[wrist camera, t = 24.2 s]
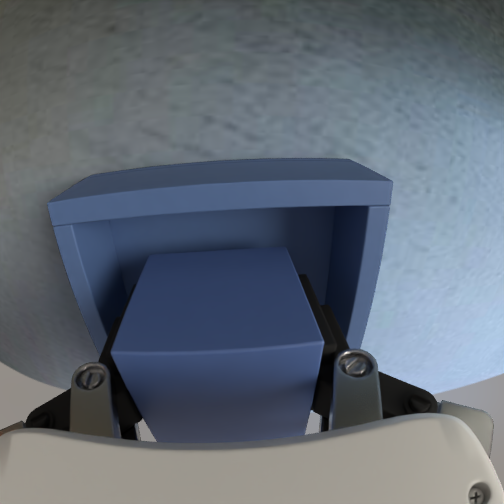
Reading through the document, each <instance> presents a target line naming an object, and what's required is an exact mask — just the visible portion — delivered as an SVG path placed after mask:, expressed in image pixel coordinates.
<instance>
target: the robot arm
mask: <svg viewBox="0 0 504 504" xmlns="http://www.w3.org/2000/svg"><path fill="white" fill-rule="evenodd" d="M298 277H299V280H300V282H301V285H302V287H303V290H304V292H305V295H306V297H307V300H308V302H309V304H310V307H311V309H312V312H313V315H314V317H315V320H316V322H317V325H318V327H319V330H320V332H321V335H322V337H323V340H324V346H323V352H322V357H321V362H320V368H319V373H318V378H317V383H316V387H315V392H314V397H313V401H312V406H311V410H313V411H314V412H315V413H317V414H319V415H320V425H319V433H315V434H308V435H301V436H294V437H286V438H278V439H268V440H258V441H245V442H226V443H167V442H147V441H141V438H140V432H139V427H138V422H140V421H141V420H142V418H143V417H142V415H141V414H140V412H139V410H138V408H137V406H136V404H135V403H134V401H133V399H132V397H131V395H130V393H129V391H128V389H127V387H126V385H125V383H124V381H123V379H122V377H121V375H120V373H119V371H118V369H117V366H116V364H115V362H114V360H113V358H112V356H111V349H112V346H113V343H114V341H115V338H116V335H117V332H118V330H119V327H120V325H121V322H122V319H123V317H124V314H125V312H126V309H127V307H128V304H129V302H130V299H131V297H132V294H133V292H134V290H135V287H136V285H137V284H134V285H133V287H132V290H131V292H130V294H129V297H128V299H127V302H126V304H125V306H124V309H123V311H122V314H121V316H120V317H116V318H115V320H114V323H113V325H112V327H111V330H110V332H109V335H108V337H107V340H106V342H105V345H104V348H103V350H102V353H101V355H100V358H99V361H98V362H89V363H86V364H84V365H82V366H80V367H79V368H78V369H77V370H76V371H75V372H74V374H73V377H72V382H71V388H70V389H69V390H67V391H65V392H64V393H62V394H60V395H58V396H57V397H55V398H53V399H52V400H50V401H48V402H46V403H45V404H43V405H41V406H40V407H38V408H36V409H35V410H33V411H32V412H31V413H30V414H29V416H28V417H27V420H26V423H24V422H23V421H20V422H18V423H15V424H13V425H11V426H8V427H6V428H4V429H2V430H0V504H504V491H503V488H502V486H501V483H500V481H499V478H498V476H497V474H496V471H495V469H494V467H493V465H492V463H491V461H490V454H491V447H492V438H493V429H494V424H493V419H492V418H491V416H490V415H489V414H488V413H487V412H485V411H483V410H479V409H475V408H471V407H467V406H463V405H459V404H455V403H451V402H447V401H444V400H442V401H441V403H439V402H437V401H436V399H435V398H434V396H433V395H432V394H431V393H429V392H428V391H426V390H424V389H421V388H418V387H416V386H413V385H411V384H408V383H406V382H403V381H401V380H399V379H396V378H394V377H391V376H389V375H386V374H384V373H382V372H379V371H378V366H377V362H376V359H375V358H374V357H373V356H372V355H371V354H370V353H368V352H366V351H364V350H361V349H355V348H354V349H350V348H349V345H348V343H347V341H346V339H345V337H344V335H343V332H342V330H341V328H340V326H339V324H338V322H337V320H336V318H335V315H334V313H333V311H332V309H331V307H330V306H329V305H328V304H327V305H320V304H319V301H318V299H317V297H316V295H315V292H314V290H313V288H312V286H311V283H310V281H309V279H308V277H307V275H306V274H298Z"/></svg>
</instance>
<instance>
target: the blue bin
mask: <svg viewBox="0 0 504 504" xmlns="http://www.w3.org/2000/svg"><path fill="white" fill-rule="evenodd" d="M392 188H393V181H392V180H390V179H388V178H386V177H384V176H382V175H380V174H378V173H376V172H375V171H373V170H371V169H369V168H367V167H365V166H363V165H361V164H359V163H357V162H354V161H352V160H350V159H328V158H277V159H245V160H225V161H209V162H196V163H184V164H173V165H163V166H154V167H145V168H137V169H129V170H122V171H115V172H108V173H101V174H95V175H91V176H89V177H87V178H86V179H84V180H82V181H80V182H79V183H77V184H75V185H74V186H72V187H71V188H69V189H67V190H66V191H64V192H63V193H61V194H60V195H58V196H57V197H55V198H54V199H52V200H51V201H49V202H48V203H47V206H48V210H49V214H50V219H51V223H52V226H54V227H53V229H54V233H55V237H56V240H57V244H58V247H59V251H60V254H61V257H62V261H63V264H64V267H65V270H66V273H67V276H68V279H69V282H70V285H71V288H72V290H73V293H74V296H75V299H76V301H77V304H78V306H79V309H80V312H81V314H82V317H83V319H84V321H85V324H86V326H87V329H88V331H89V333H90V335H91V338H92V340H93V342H94V344H95V347H96V349H97V351H98V353H99V355H101V353H102V350H103V348H104V345H105V342H106V340H107V337H108V335H109V332H110V330H111V327H112V325H113V323H114V320H115V318H116V317H120V316H121V314H122V311H123V309H124V306H125V304H126V302H127V299H128V297H129V294H130V292H131V290H132V287H133V285H134V284H137V282H138V280H139V278H140V275H141V273H142V271H143V268H144V266H145V264H146V262H147V259H148V257H149V255H154V254H170V253H186V252H202V251H218V250H234V249H250V248H267V247H283V246H284V247H286V248H287V251H288V253H289V256H290V258H291V260H292V263H293V265H294V268H295V270H296V272H297V275H298V274H306V275H307V277H308V279H309V281H310V283H311V286H312V288H313V290H314V292H315V295H316V297H317V299H318V301H319V304H320V305H327V304H328V305H329V306H330V307H331V309H332V311H333V313H334V315H335V318H336V320H337V322H338V324H339V326H340V328H341V330H342V332H343V335H344V337H345V339H346V341H347V343H348V345H349V348H350V349H354V348H355V349H360V347H361V344H362V340H363V337H364V333H365V329H366V326H367V322H368V318H369V314H370V310H371V306H372V301H373V297H374V293H375V288H376V284H377V279H378V274H379V269H380V264H381V259H382V253H383V248H384V242H385V236H386V230H387V224H388V217H389V210H390V206H389V205H390V204H391V196H392Z"/></svg>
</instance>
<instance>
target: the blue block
mask: <svg viewBox="0 0 504 504" xmlns="http://www.w3.org/2000/svg"><path fill="white" fill-rule="evenodd" d="M323 346H324V340H323V337H322V335H321V332H320V330H319V327H318V325H317V322H316V320H315V317H314V315H313V312H312V309H311V307H310V304H309V302H308V300H307V297H306V295H305V292H304V290H303V287H302V285H301V282H300V280H299V277H298V275H297V272H296V270H295V268H294V265H293V263H292V260H291V258H290V256H289V253H288V251H287V248H286V247H284V246H283V247H267V248H250V249H234V250H218V251H202V252H186V253H170V254H154V255H149V257H148V259H147V262H146V264H145V266H144V268H143V271H142V273H141V275H140V278H139V280H138V282H137V285H136V287H135V290H134V292H133V294H132V297H131V299H130V302H129V304H128V307H127V309H126V312H125V314H124V317H123V319H122V322H121V325H120V327H119V330H118V332H117V335H116V338H115V341H114V343H113V346H112V349H111V356H112V358H113V360H114V362H115V364H116V366H117V369H118V371H119V373H120V375H121V377H122V379H123V381H124V383H125V385H126V387H127V389H128V391H129V393H130V395H131V397H132V399H133V401H134V403H135V404H136V406H137V408H138V410H139V412H140V414H141V415H142V417H143V419H144V421H145V422H146V424H147V426H148V428H149V429H150V431H151V433H152V434H153V436H154V437H155V439H156V441H157V442H167V443H226V442H245V441H258V440H268V439H278V438H286V437H294V436H301V435H305V431H306V427H307V423H308V419H309V415H310V410H311V406H312V401H313V397H314V392H315V387H316V383H317V378H318V373H319V368H320V362H321V357H322V352H323Z"/></svg>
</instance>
